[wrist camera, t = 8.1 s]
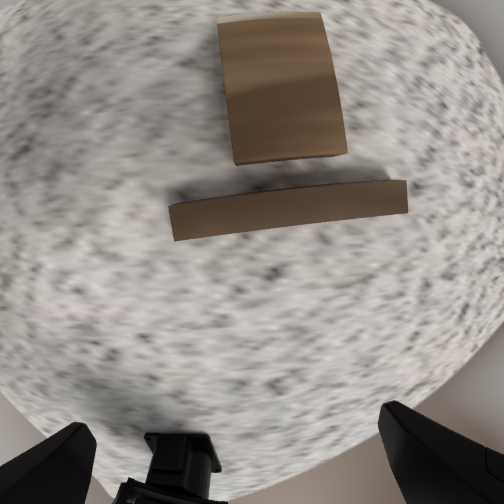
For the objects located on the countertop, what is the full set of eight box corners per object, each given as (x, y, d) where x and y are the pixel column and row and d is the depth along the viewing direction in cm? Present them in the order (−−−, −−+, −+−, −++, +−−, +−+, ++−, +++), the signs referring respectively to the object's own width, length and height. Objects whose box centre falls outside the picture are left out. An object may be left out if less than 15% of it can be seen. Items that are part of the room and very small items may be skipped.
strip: (393, 209, 18) (408, 213, 16) (182, 234, 18) (174, 241, 16) (391, 179, 17) (406, 180, 15) (176, 203, 18) (168, 206, 16)
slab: (347, 153, 14) (320, 12, 12) (234, 163, 14) (216, 17, 12) (332, 156, 17) (310, 33, 15) (236, 166, 17) (220, 38, 15)
